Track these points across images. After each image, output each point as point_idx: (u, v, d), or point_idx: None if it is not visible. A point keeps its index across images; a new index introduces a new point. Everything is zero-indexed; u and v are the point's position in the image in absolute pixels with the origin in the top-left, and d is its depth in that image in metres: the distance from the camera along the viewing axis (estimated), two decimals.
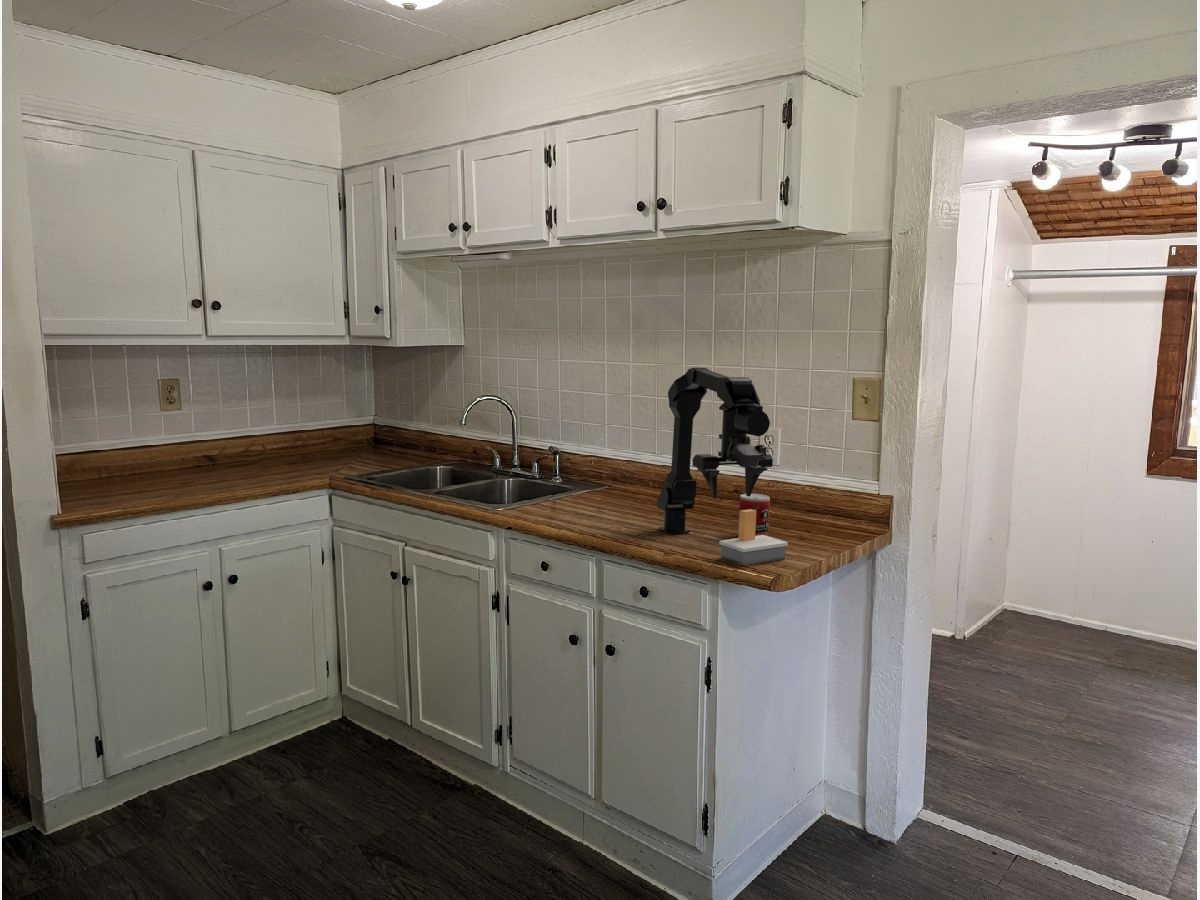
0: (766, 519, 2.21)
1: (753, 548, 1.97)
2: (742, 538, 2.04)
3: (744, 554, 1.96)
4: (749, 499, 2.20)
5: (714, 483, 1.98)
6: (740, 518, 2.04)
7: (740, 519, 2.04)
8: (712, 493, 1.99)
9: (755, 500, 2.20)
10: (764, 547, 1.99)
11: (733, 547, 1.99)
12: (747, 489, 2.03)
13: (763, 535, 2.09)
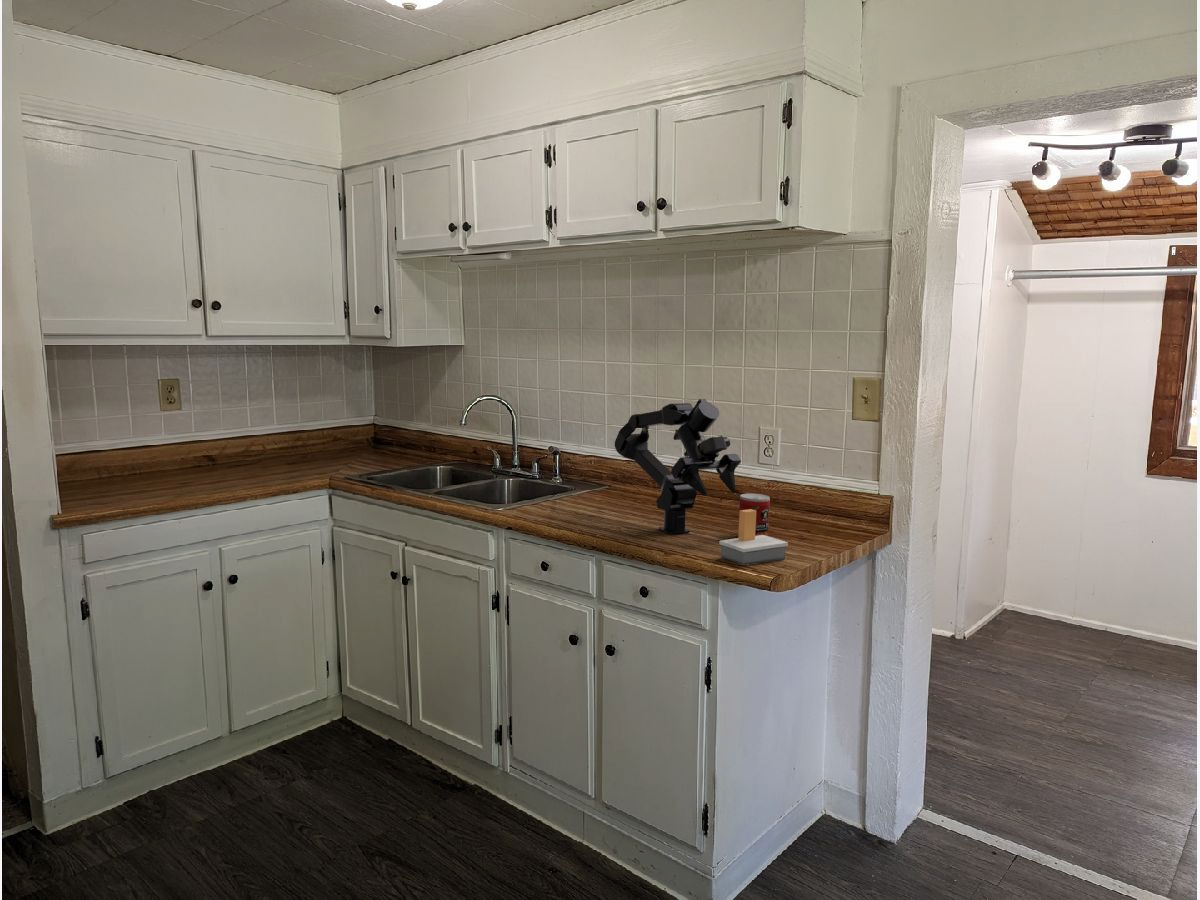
0: (766, 519, 2.21)
1: (753, 548, 1.97)
2: (742, 538, 2.04)
3: (744, 554, 1.96)
4: (749, 499, 2.20)
5: (699, 480, 2.10)
6: (740, 518, 2.04)
7: (740, 519, 2.04)
8: (702, 491, 2.10)
9: (755, 500, 2.20)
10: (764, 547, 1.99)
11: (733, 547, 1.99)
12: (730, 487, 2.16)
13: (763, 535, 2.09)
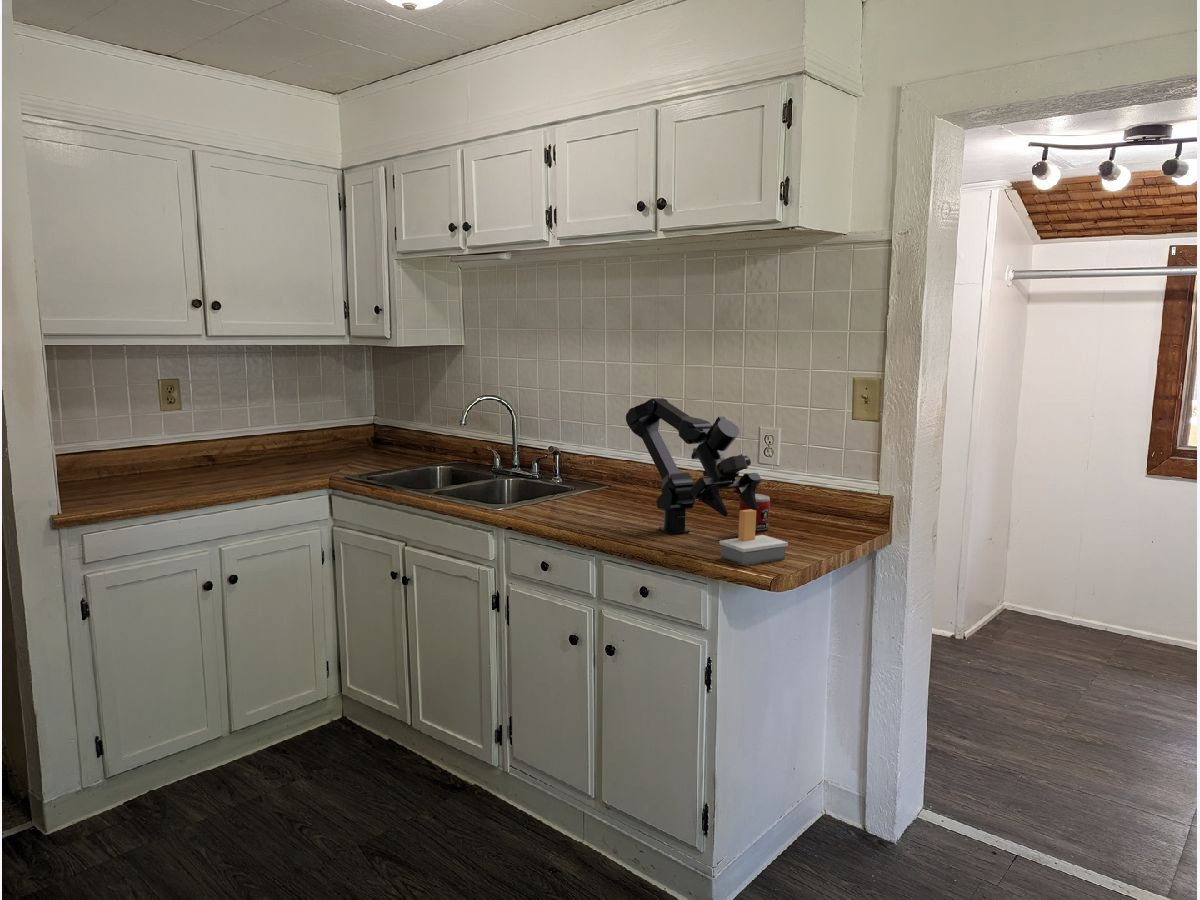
0: (766, 519, 2.21)
1: (753, 548, 1.97)
2: (742, 538, 2.04)
3: (744, 554, 1.96)
4: None
5: (719, 500, 2.04)
6: (740, 518, 2.04)
7: (740, 519, 2.04)
8: (723, 512, 2.04)
9: None
10: (764, 547, 1.99)
11: (733, 547, 1.99)
12: (751, 507, 2.09)
13: (763, 535, 2.09)
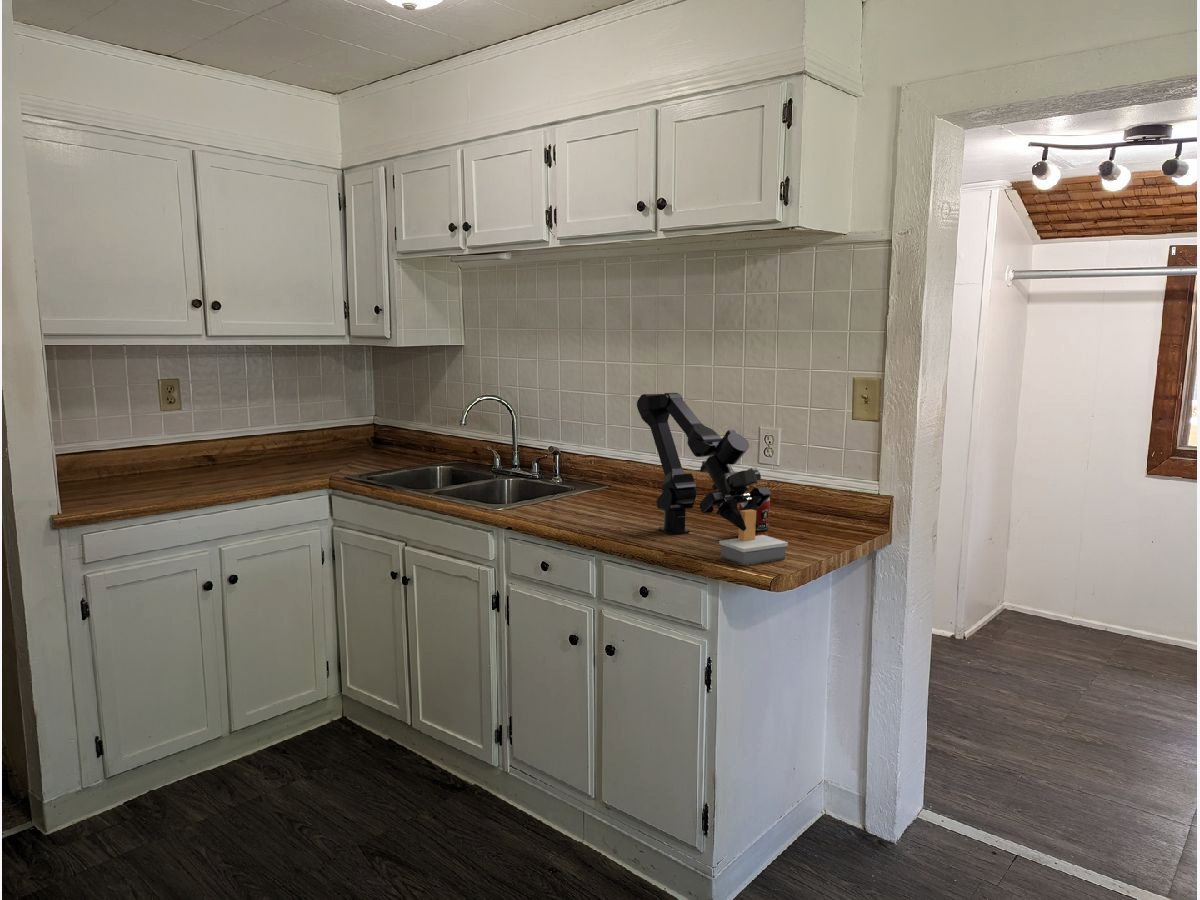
0: (766, 519, 2.21)
1: (753, 548, 1.97)
2: (742, 538, 2.04)
3: (744, 554, 1.96)
4: None
5: (738, 514, 2.03)
6: None
7: None
8: (741, 526, 2.03)
9: None
10: (764, 547, 1.99)
11: (733, 547, 1.99)
12: None
13: (763, 535, 2.09)
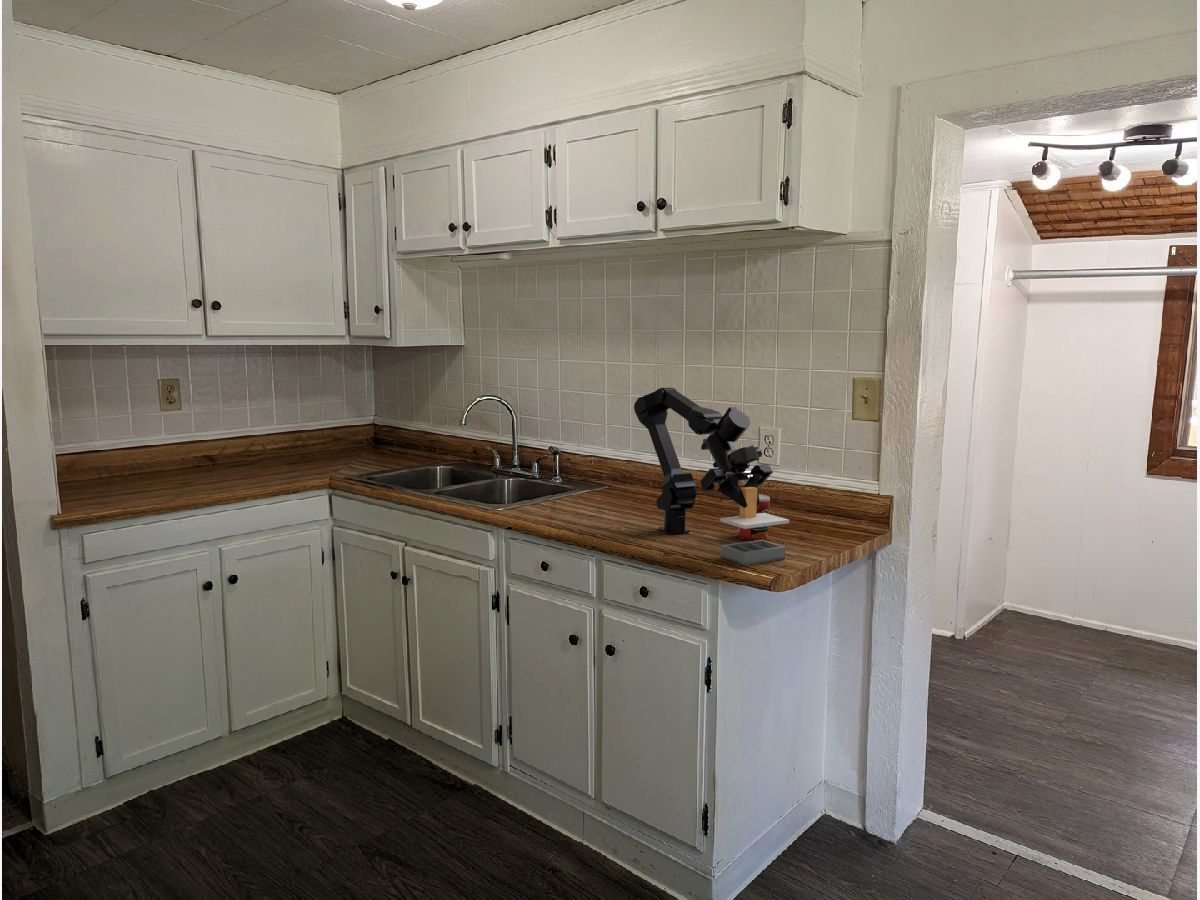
0: None
1: (754, 525, 1.97)
2: (743, 515, 2.03)
3: (744, 554, 1.96)
4: None
5: (739, 491, 2.02)
6: None
7: None
8: (742, 503, 2.02)
9: None
10: (765, 524, 1.98)
11: (734, 524, 1.98)
12: None
13: (764, 513, 2.09)
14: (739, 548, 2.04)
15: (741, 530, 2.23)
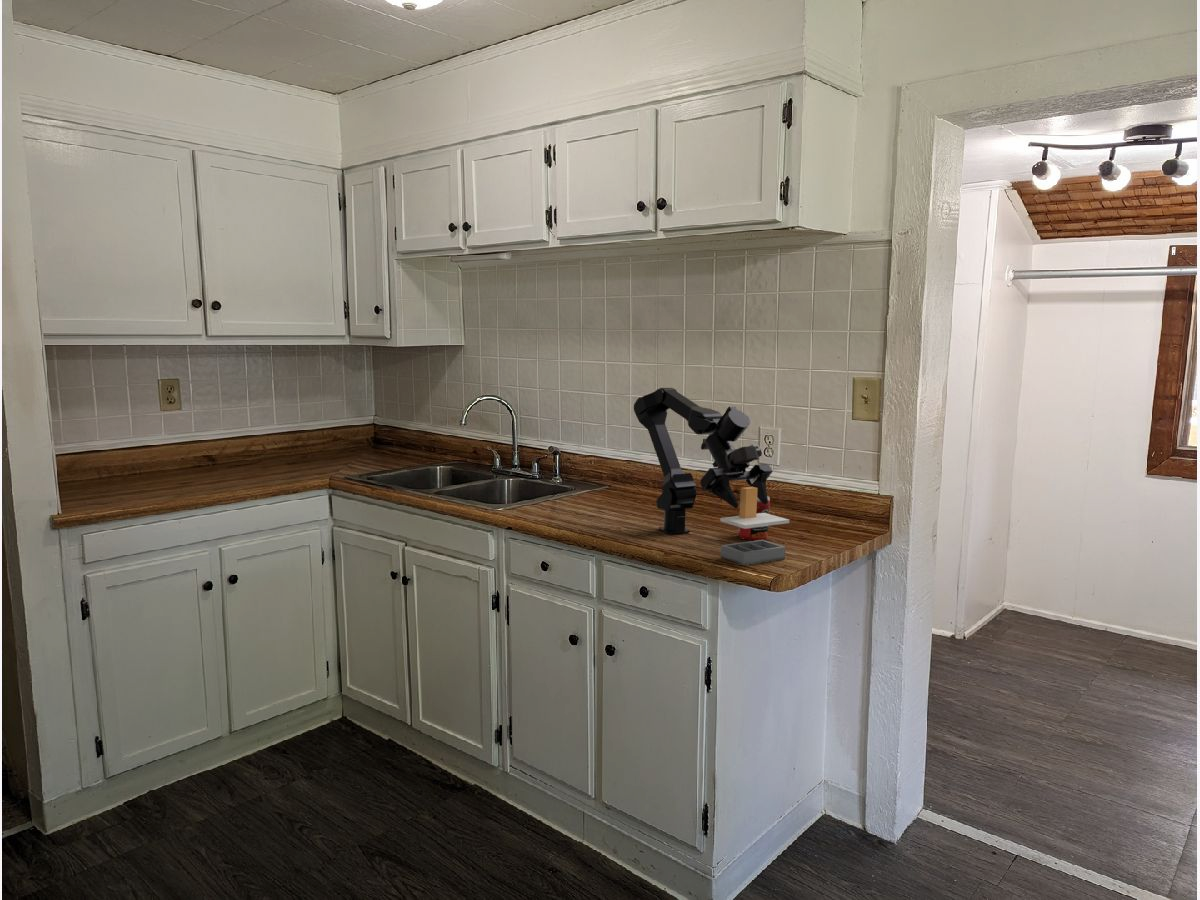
0: None
1: (754, 525, 1.97)
2: (743, 515, 2.03)
3: (744, 554, 1.96)
4: None
5: (730, 491, 2.01)
6: (741, 496, 2.03)
7: (741, 496, 2.03)
8: (733, 503, 2.01)
9: None
10: (765, 524, 1.98)
11: (734, 524, 1.98)
12: (762, 499, 2.06)
13: (764, 513, 2.09)
14: (739, 548, 2.04)
15: (741, 530, 2.23)
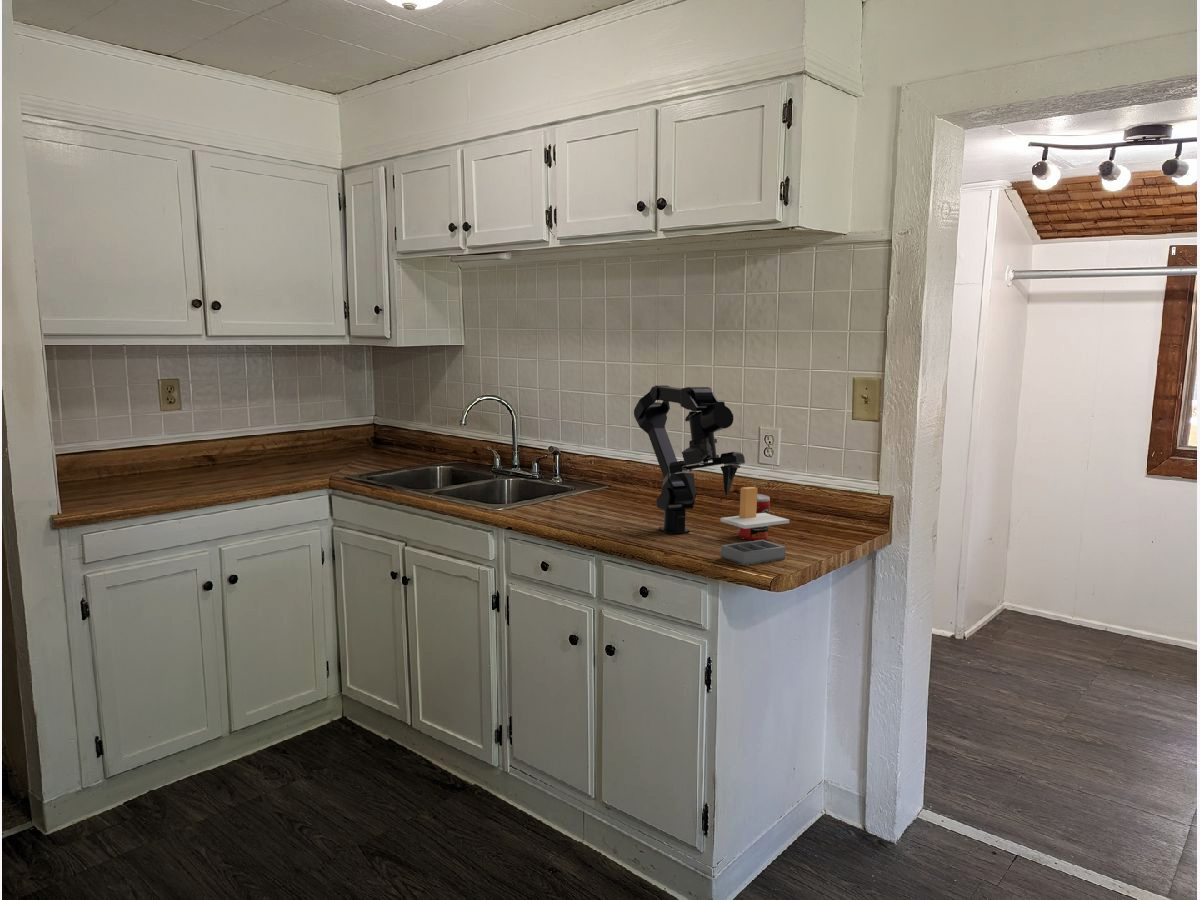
0: None
1: (754, 525, 1.97)
2: (743, 515, 2.03)
3: (744, 554, 1.96)
4: None
5: (687, 485, 2.15)
6: (741, 496, 2.03)
7: (741, 496, 2.03)
8: None
9: None
10: (765, 524, 1.98)
11: (734, 524, 1.98)
12: None
13: (764, 513, 2.09)
14: (739, 548, 2.04)
15: (741, 530, 2.23)
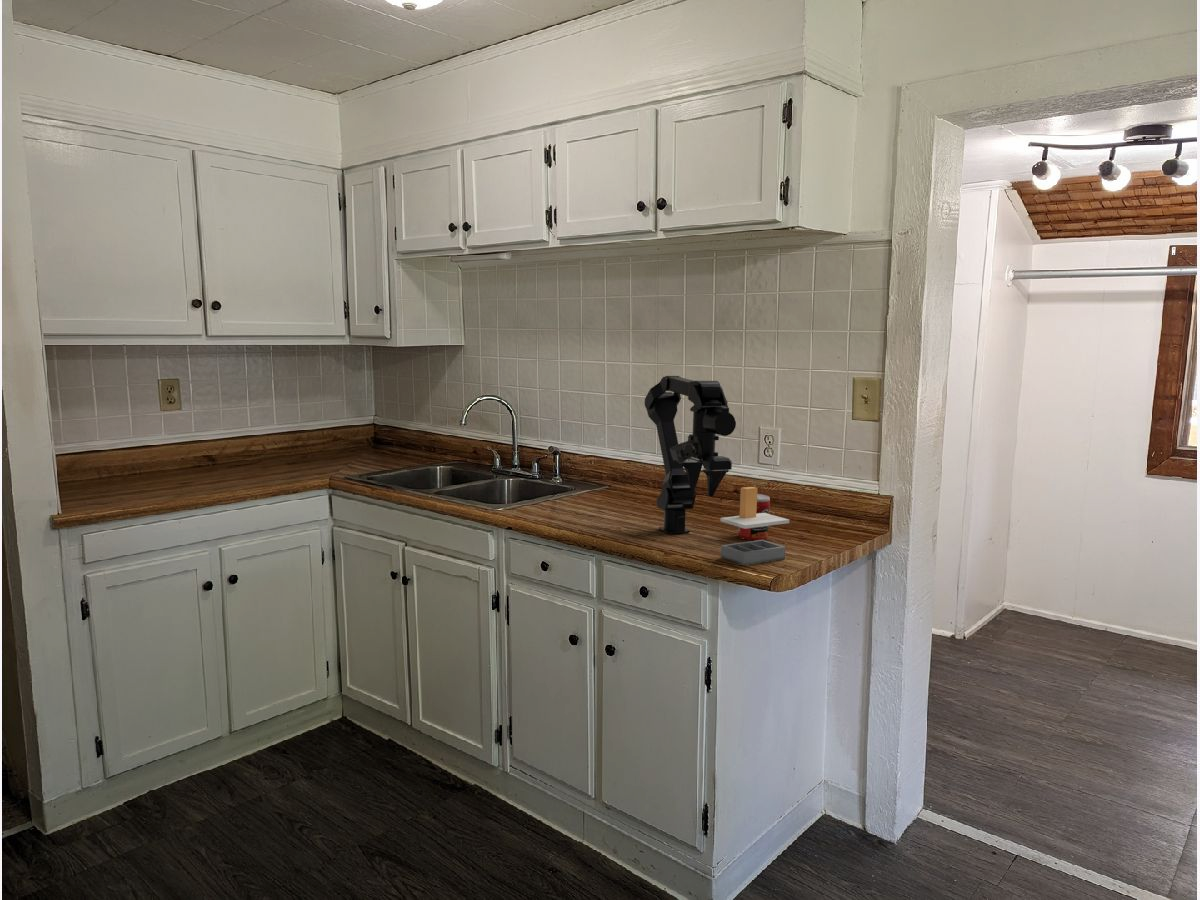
0: None
1: (754, 525, 1.97)
2: (743, 515, 2.03)
3: (744, 554, 1.96)
4: None
5: (687, 475, 2.19)
6: (741, 496, 2.03)
7: (741, 496, 2.03)
8: None
9: None
10: (765, 524, 1.98)
11: (734, 524, 1.98)
12: None
13: (764, 513, 2.09)
14: (739, 548, 2.04)
15: (741, 530, 2.23)
